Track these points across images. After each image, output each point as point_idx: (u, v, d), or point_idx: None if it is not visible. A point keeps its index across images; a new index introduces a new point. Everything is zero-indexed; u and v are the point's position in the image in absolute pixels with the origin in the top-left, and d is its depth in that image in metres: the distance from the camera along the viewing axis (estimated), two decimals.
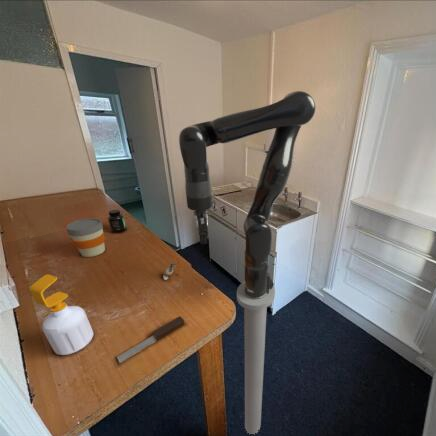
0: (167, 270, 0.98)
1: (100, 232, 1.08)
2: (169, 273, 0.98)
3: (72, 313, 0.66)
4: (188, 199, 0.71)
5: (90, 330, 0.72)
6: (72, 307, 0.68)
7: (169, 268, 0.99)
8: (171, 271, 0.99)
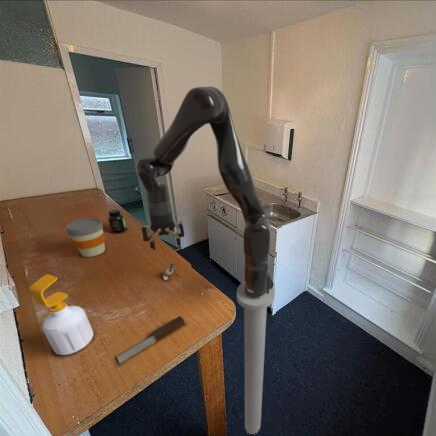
0: (167, 270, 0.98)
1: (100, 232, 1.08)
2: (169, 273, 0.98)
3: (72, 313, 0.66)
4: None
5: (90, 330, 0.72)
6: (72, 307, 0.68)
7: (169, 268, 0.99)
8: (171, 271, 0.99)
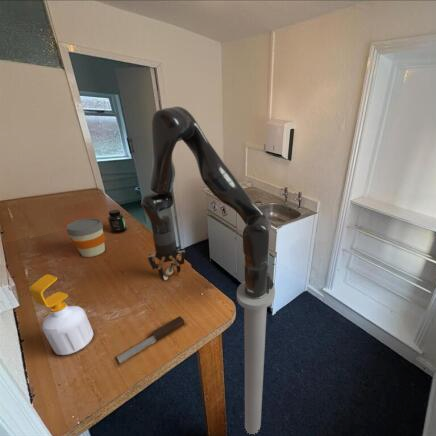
0: (167, 270, 0.98)
1: (100, 232, 1.08)
2: (169, 273, 0.98)
3: (72, 313, 0.66)
4: None
5: (90, 330, 0.72)
6: (72, 307, 0.68)
7: (169, 268, 0.99)
8: (171, 271, 0.99)
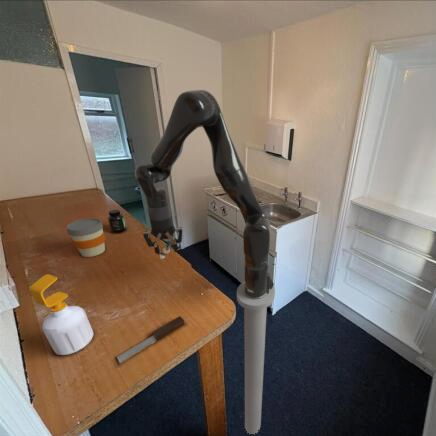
0: (164, 248, 0.93)
1: (100, 232, 1.08)
2: (166, 252, 0.94)
3: (72, 313, 0.66)
4: None
5: (90, 330, 0.72)
6: (72, 307, 0.68)
7: (166, 246, 0.94)
8: (168, 250, 0.94)
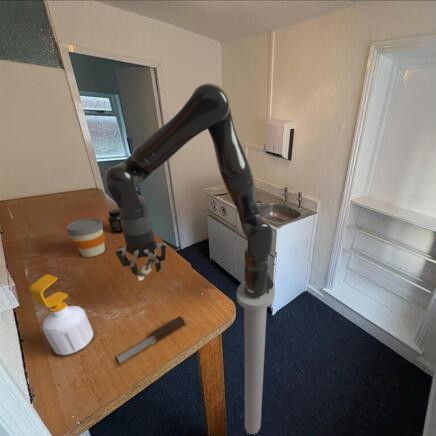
0: (143, 268, 0.76)
1: (100, 232, 1.08)
2: (145, 272, 0.77)
3: (72, 313, 0.66)
4: None
5: (90, 330, 0.72)
6: (72, 307, 0.68)
7: (145, 265, 0.77)
8: (148, 269, 0.77)
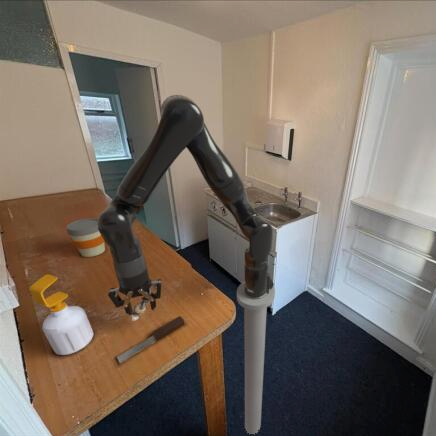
0: (137, 307, 0.73)
1: None
2: (140, 311, 0.73)
3: (72, 313, 0.66)
4: None
5: (90, 330, 0.72)
6: (72, 307, 0.68)
7: (140, 304, 0.73)
8: (143, 308, 0.73)
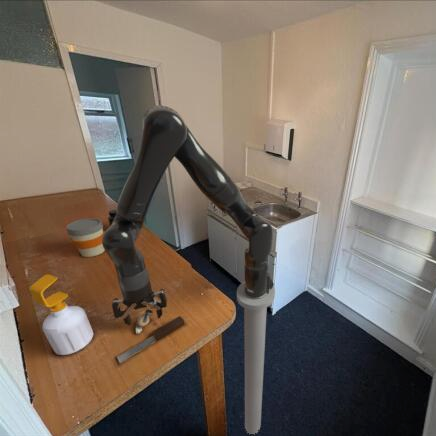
0: (140, 320, 0.75)
1: (100, 232, 1.08)
2: (143, 324, 0.75)
3: (72, 313, 0.66)
4: None
5: (90, 330, 0.72)
6: (72, 307, 0.68)
7: (143, 317, 0.76)
8: (146, 321, 0.76)
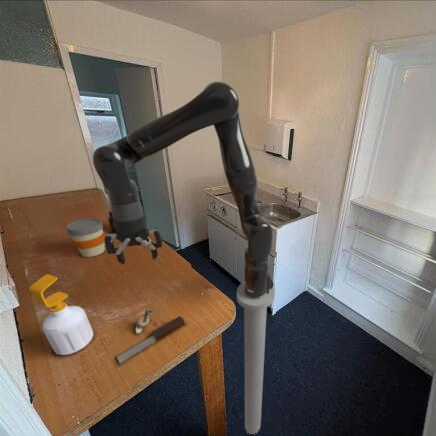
0: (140, 320, 0.75)
1: (100, 232, 1.08)
2: (143, 324, 0.75)
3: (72, 313, 0.66)
4: None
5: (90, 330, 0.72)
6: (72, 307, 0.68)
7: (143, 317, 0.76)
8: (146, 321, 0.76)
